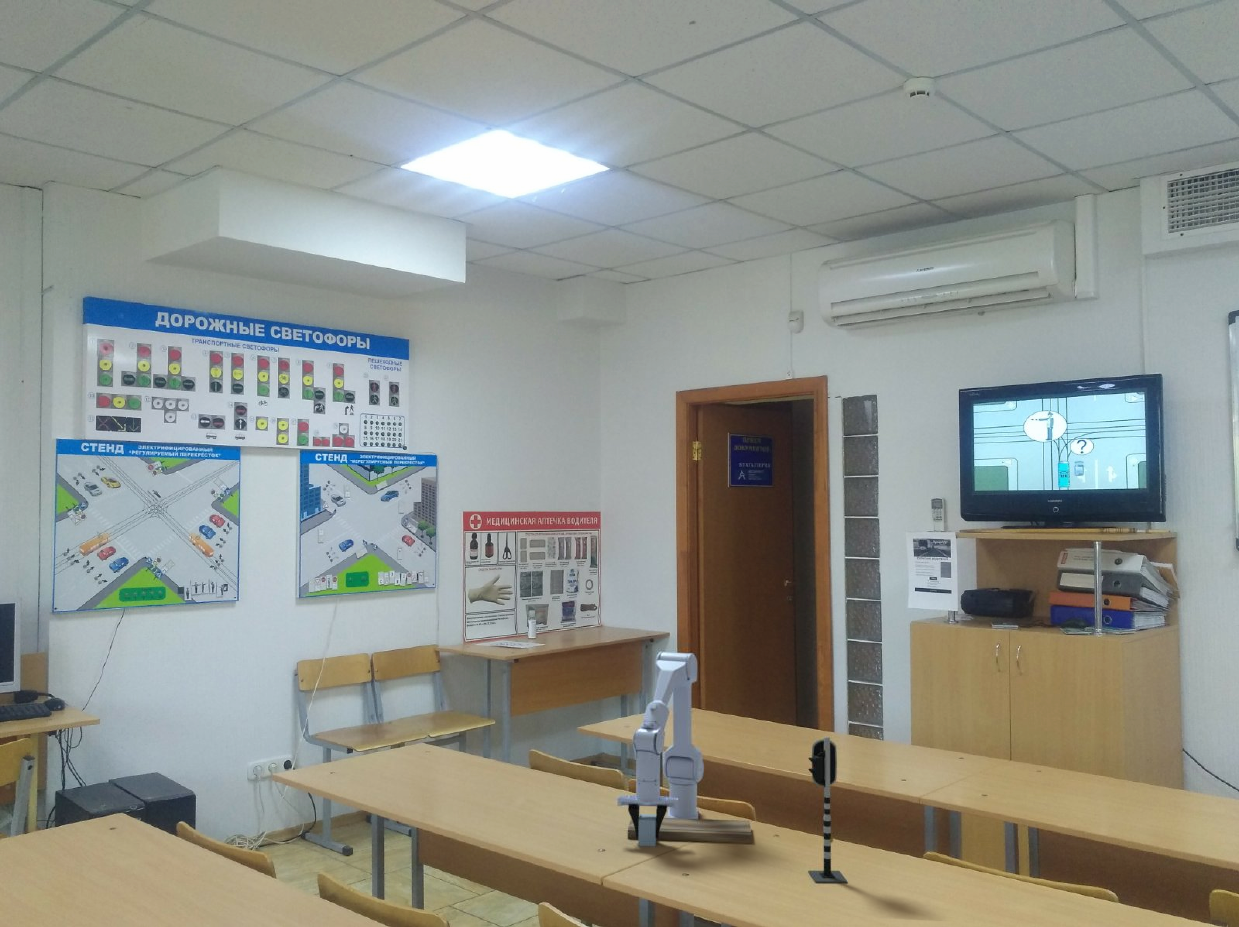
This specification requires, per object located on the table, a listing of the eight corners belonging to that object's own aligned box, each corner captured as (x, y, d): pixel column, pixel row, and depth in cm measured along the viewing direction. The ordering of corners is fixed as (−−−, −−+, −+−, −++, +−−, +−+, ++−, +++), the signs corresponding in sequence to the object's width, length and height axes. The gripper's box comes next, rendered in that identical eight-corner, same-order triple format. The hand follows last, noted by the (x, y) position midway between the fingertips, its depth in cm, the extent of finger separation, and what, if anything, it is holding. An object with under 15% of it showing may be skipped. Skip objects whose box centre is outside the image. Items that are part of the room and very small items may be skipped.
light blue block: (640, 835, 246) (640, 810, 247) (656, 836, 246) (657, 811, 246) (638, 845, 238) (638, 820, 239) (655, 846, 238) (655, 820, 239)
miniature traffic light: (838, 871, 222) (838, 733, 224) (847, 883, 214) (846, 740, 217) (805, 871, 222) (804, 733, 224) (812, 882, 214) (812, 740, 216)
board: (631, 824, 256) (631, 816, 256) (749, 828, 253) (749, 820, 254) (627, 838, 244) (627, 829, 244) (751, 843, 242) (751, 834, 242)
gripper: (616, 782, 238) (615, 840, 237) (677, 784, 237) (677, 843, 236) (619, 775, 245) (618, 832, 244) (678, 777, 244) (677, 834, 243)
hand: (647, 836), depth 241 cm, fingers closed on light blue block, 4 cm apart
